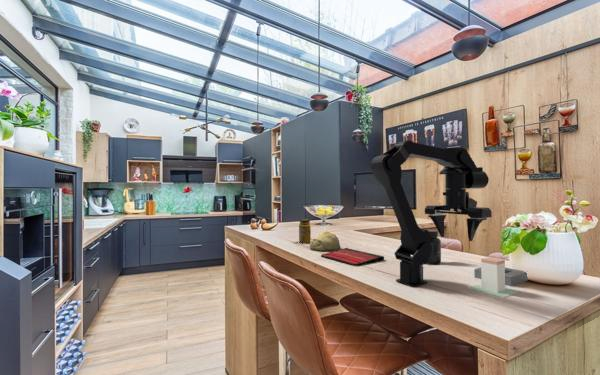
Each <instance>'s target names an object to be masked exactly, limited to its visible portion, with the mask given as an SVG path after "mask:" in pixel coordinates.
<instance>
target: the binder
mask: <svg viewBox="0 0 600 375" xmlns="http://www.w3.org/2000/svg"><path fill="white" fill-rule="evenodd" d="M320 257H321V258H324V259H329V260H332V261H336V262H340V263H343V264H346V265H348V266H351V267H359V266H363V265H369V264H374V263H377V262H378V261H385V256H384V255H380V254H375V253H370V252H365V251H361V250H356V249H353V248H348V247H346V248H345V247H344V248H340V249H338V250H335V251H334V250H332V251H331V252H330V251H329V252H327V253H322V254H320Z"/></svg>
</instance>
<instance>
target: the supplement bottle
mask: <svg viewBox="0 0 600 375" xmlns="http://www.w3.org/2000/svg"><path fill="white" fill-rule="evenodd" d="M427 230H428V232H429V235H430V238H431V240H432V241H433V243H431V244H432V250H431V253H430V257H429V260H428V264H427V265H440V264H441V263H442V239H440V238H439V232H438V230H435V229H427Z"/></svg>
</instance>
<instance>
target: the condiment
mask: <svg viewBox="0 0 600 375" xmlns="http://www.w3.org/2000/svg"><path fill="white" fill-rule="evenodd" d="M311 226H312V225H311V220H310V219H307V218H304V219H300V220H299V224H298V241H293V243H294V244H298V245H306V244H310V243H311V239H312V238H311V228H312V227H311ZM298 242H299V243H298ZM302 243H303V244H302Z"/></svg>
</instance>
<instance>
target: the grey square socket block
mask: <svg viewBox="0 0 600 375" xmlns="http://www.w3.org/2000/svg"><path fill="white" fill-rule="evenodd" d="M524 271H525V270H520V269H515V268H510V267H506V266H505V286H507V287H513V286H516V285H519V284H521V283H525V282H528V279H529V278H528V277H527V273H526V272H527V271H526V272H524ZM473 274H474V278H475V279H480V280H481V267H478V268H474V273H473Z"/></svg>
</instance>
